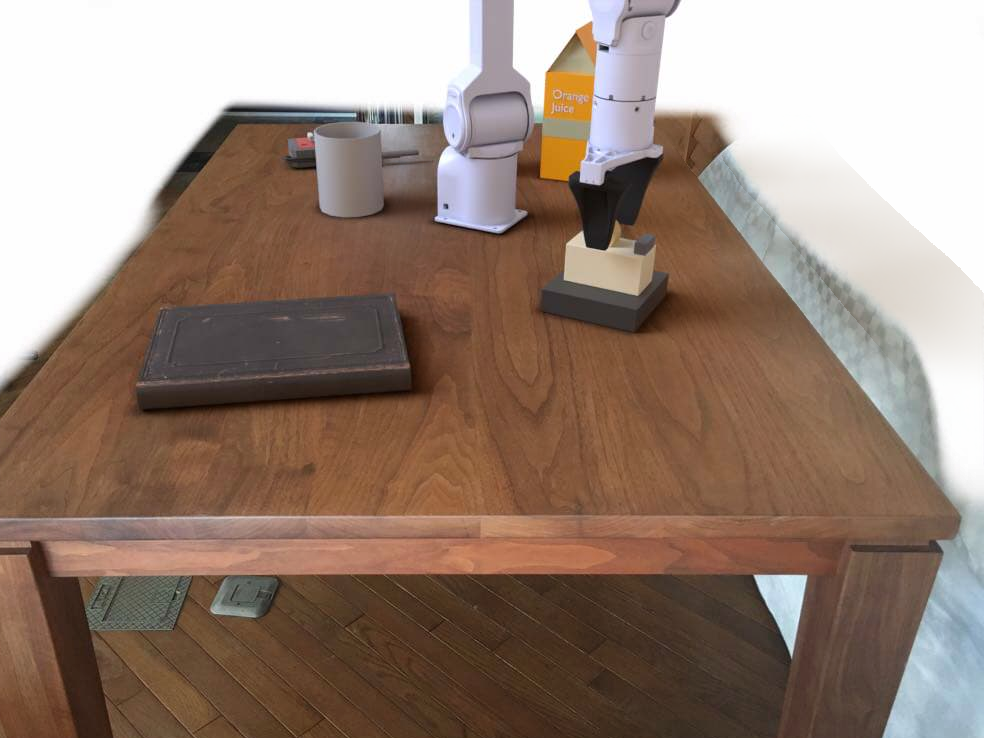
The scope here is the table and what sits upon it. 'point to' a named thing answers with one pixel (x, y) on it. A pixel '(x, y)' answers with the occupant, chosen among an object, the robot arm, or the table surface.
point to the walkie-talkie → (305, 152)
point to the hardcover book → (274, 351)
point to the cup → (349, 168)
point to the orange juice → (568, 106)
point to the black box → (603, 302)
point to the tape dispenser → (612, 263)
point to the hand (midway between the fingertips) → (610, 235)
